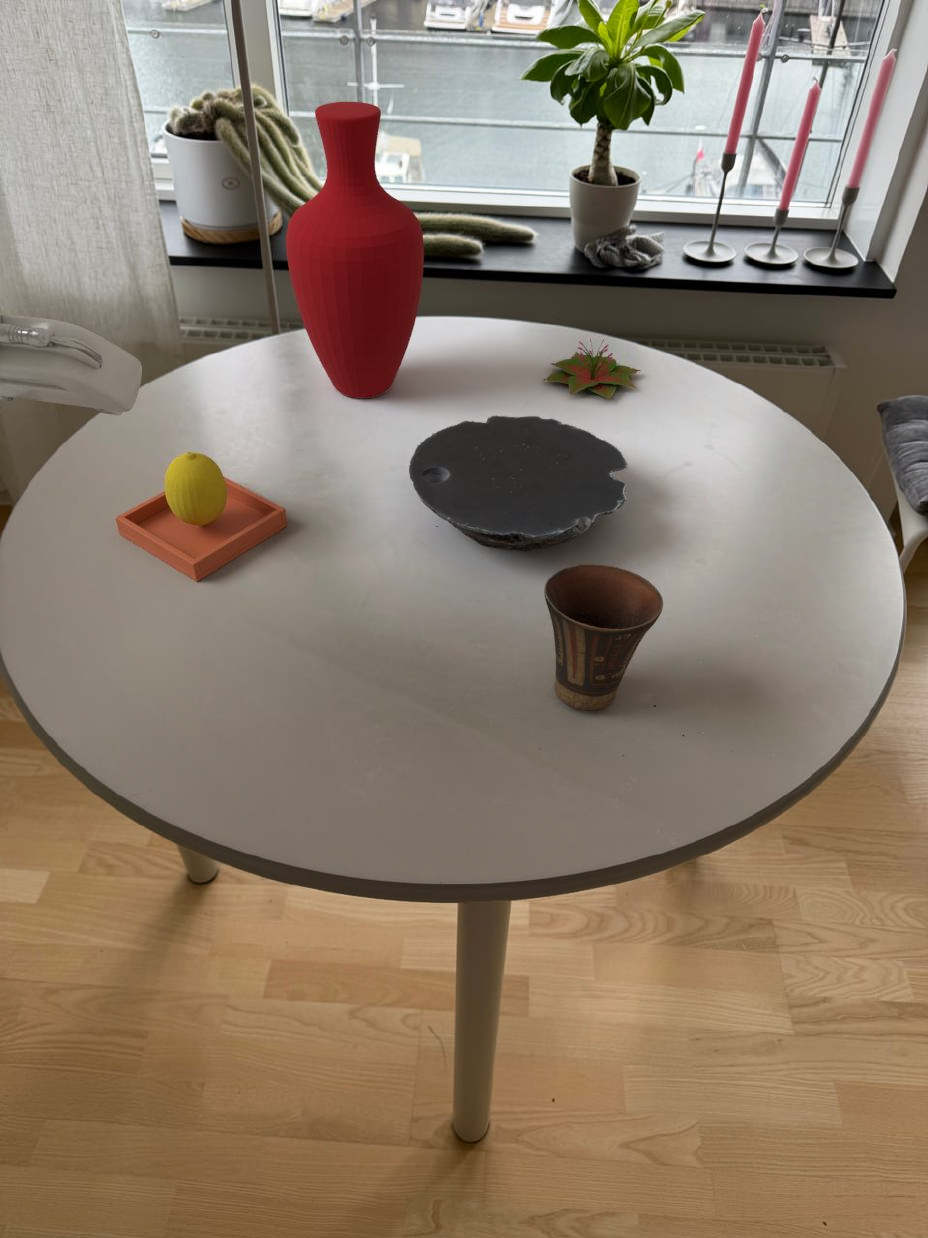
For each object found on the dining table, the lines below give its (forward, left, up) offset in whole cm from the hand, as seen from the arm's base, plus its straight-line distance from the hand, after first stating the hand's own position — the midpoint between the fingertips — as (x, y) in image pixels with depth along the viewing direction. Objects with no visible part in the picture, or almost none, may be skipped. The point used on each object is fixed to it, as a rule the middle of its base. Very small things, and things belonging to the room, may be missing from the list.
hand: (60, 397), depth 72 cm
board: (+33, -20, -19) cm, 43 cm away
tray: (+11, +1, -19) cm, 22 cm away
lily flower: (+61, -11, -19) cm, 65 cm away
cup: (+17, -39, -19) cm, 46 cm away
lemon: (+11, +2, -19) cm, 22 cm away
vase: (+42, +9, -19) cm, 47 cm away
